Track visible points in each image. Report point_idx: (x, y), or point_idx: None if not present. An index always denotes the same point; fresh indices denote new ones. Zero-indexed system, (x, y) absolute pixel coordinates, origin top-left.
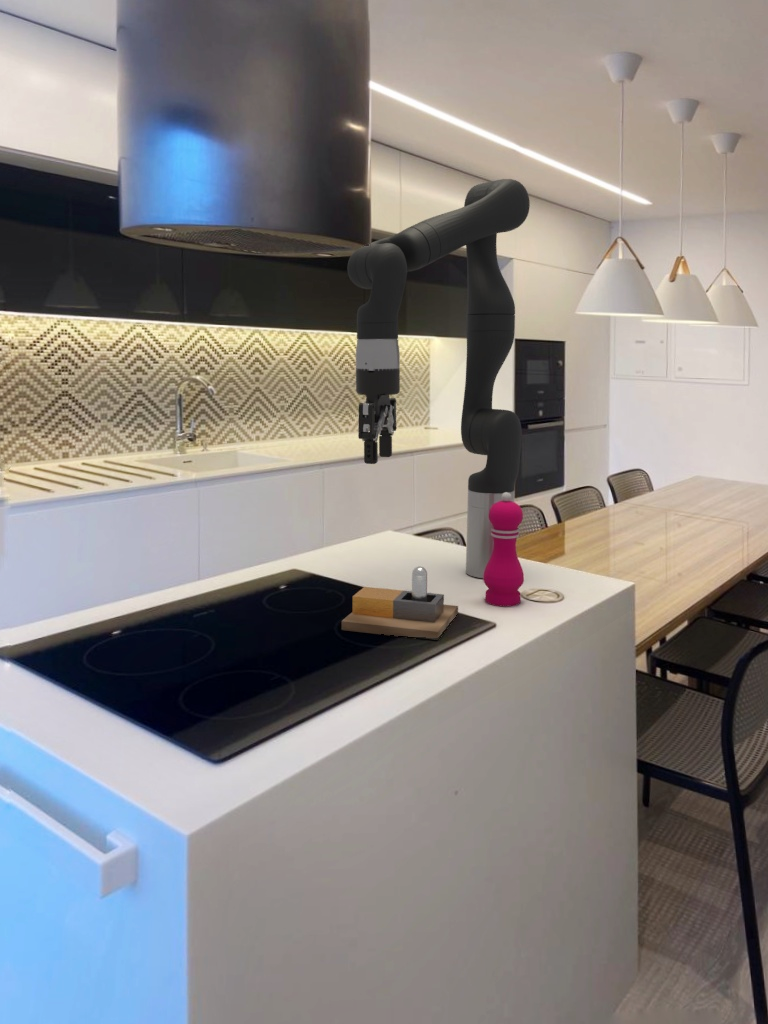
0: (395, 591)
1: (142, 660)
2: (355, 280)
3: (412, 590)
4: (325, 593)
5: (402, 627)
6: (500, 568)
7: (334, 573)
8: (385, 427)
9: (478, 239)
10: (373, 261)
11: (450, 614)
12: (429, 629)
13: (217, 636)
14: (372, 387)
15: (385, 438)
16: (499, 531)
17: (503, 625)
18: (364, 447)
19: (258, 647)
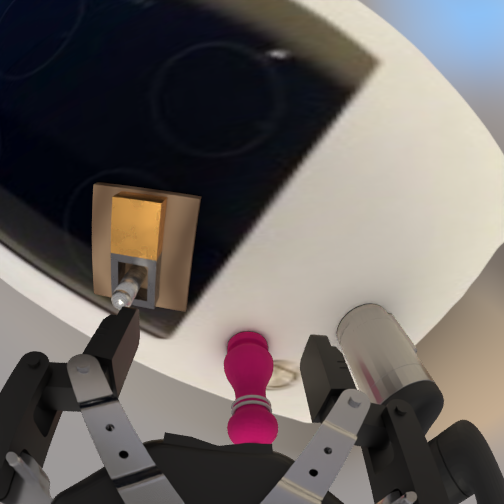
0: (149, 250)
1: (12, 36)
2: None
3: (122, 279)
4: (251, 121)
5: (93, 257)
6: (228, 374)
7: (363, 122)
8: (361, 430)
9: None
10: None
11: None
12: (97, 285)
13: (62, 55)
14: None
15: (318, 401)
16: (233, 408)
17: (163, 344)
18: (103, 341)
19: (39, 112)
